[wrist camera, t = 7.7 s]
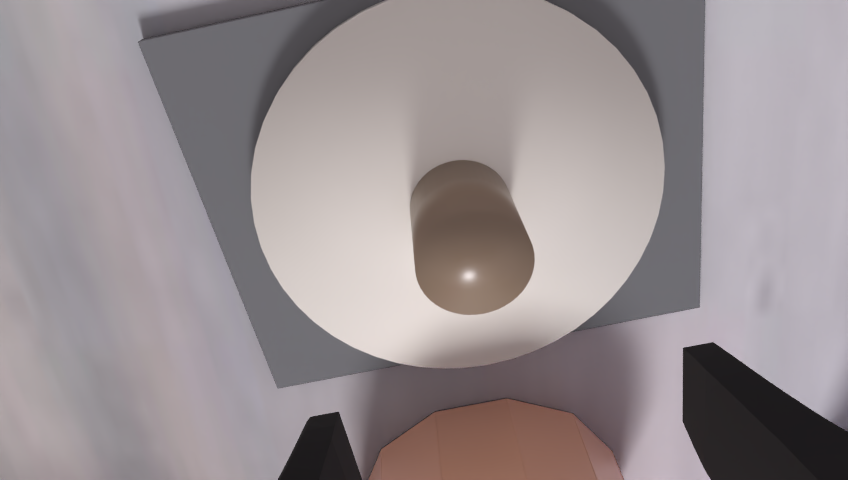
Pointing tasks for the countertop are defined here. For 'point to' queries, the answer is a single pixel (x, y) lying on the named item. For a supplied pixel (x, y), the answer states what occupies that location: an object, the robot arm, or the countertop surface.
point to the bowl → (497, 446)
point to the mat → (289, 42)
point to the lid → (457, 179)
